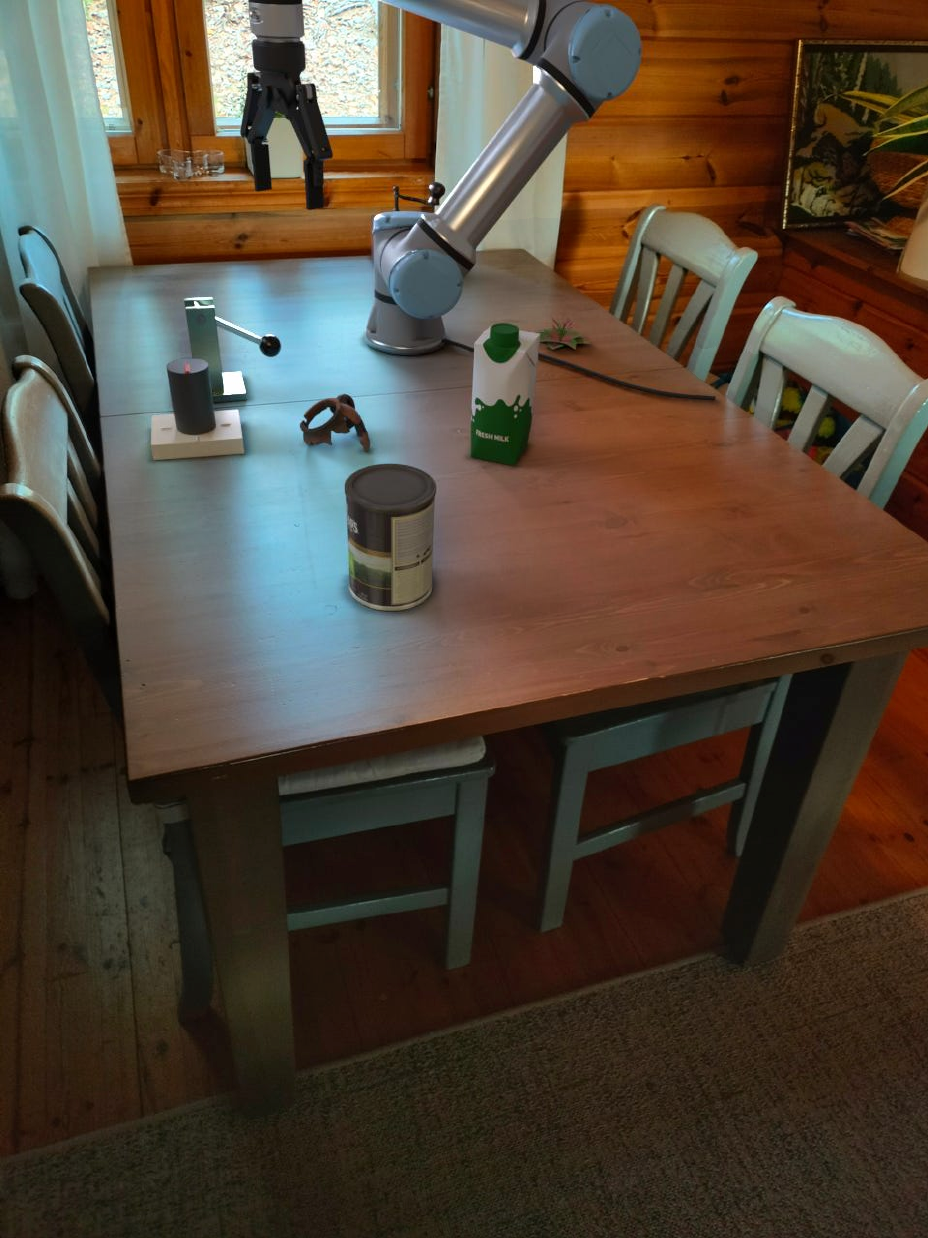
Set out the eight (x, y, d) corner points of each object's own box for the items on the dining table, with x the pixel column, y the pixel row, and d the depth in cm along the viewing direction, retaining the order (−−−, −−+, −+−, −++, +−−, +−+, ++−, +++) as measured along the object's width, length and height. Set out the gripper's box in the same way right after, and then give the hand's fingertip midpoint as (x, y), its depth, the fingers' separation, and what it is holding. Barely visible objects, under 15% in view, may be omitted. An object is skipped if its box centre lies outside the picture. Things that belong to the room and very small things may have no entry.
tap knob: (176, 419, 138) (166, 356, 132) (215, 416, 140) (207, 354, 134) (176, 436, 134) (166, 372, 128) (216, 433, 135) (208, 370, 129)
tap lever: (274, 355, 154) (283, 336, 152) (277, 363, 151) (286, 344, 150) (187, 316, 146) (195, 296, 145) (188, 324, 143) (197, 303, 142)
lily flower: (602, 348, 176) (605, 325, 173) (548, 356, 171) (551, 332, 169) (569, 327, 184) (572, 304, 181) (518, 334, 180) (519, 311, 177)
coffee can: (347, 613, 106) (343, 508, 98) (349, 563, 114) (345, 462, 106) (435, 611, 107) (439, 508, 99) (431, 562, 115) (433, 462, 107)
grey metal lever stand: (241, 378, 157) (231, 291, 148) (246, 399, 151) (237, 310, 142) (175, 382, 155) (161, 295, 146) (177, 405, 148) (163, 314, 139)
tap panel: (240, 424, 144) (238, 408, 142) (244, 453, 136) (242, 437, 134) (154, 430, 141) (151, 414, 139) (153, 460, 133) (150, 443, 131)
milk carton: (463, 458, 138) (469, 328, 125) (481, 434, 144) (489, 308, 132) (518, 470, 136) (530, 338, 123) (534, 444, 142) (547, 317, 130)
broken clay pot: (370, 464, 136) (341, 424, 130) (317, 481, 140) (287, 443, 134) (381, 411, 143) (354, 371, 138) (331, 429, 147) (302, 390, 141)
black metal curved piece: (380, 270, 208) (379, 185, 197) (370, 256, 216) (368, 173, 205) (445, 267, 212) (448, 184, 201) (433, 253, 220) (435, 172, 209)
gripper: (206, 29, 134) (223, 185, 147) (309, 50, 120) (318, 220, 133) (250, 28, 138) (262, 179, 151) (353, 47, 125) (358, 212, 138)
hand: (288, 199), depth 142 cm, fingers open, 13 cm apart
